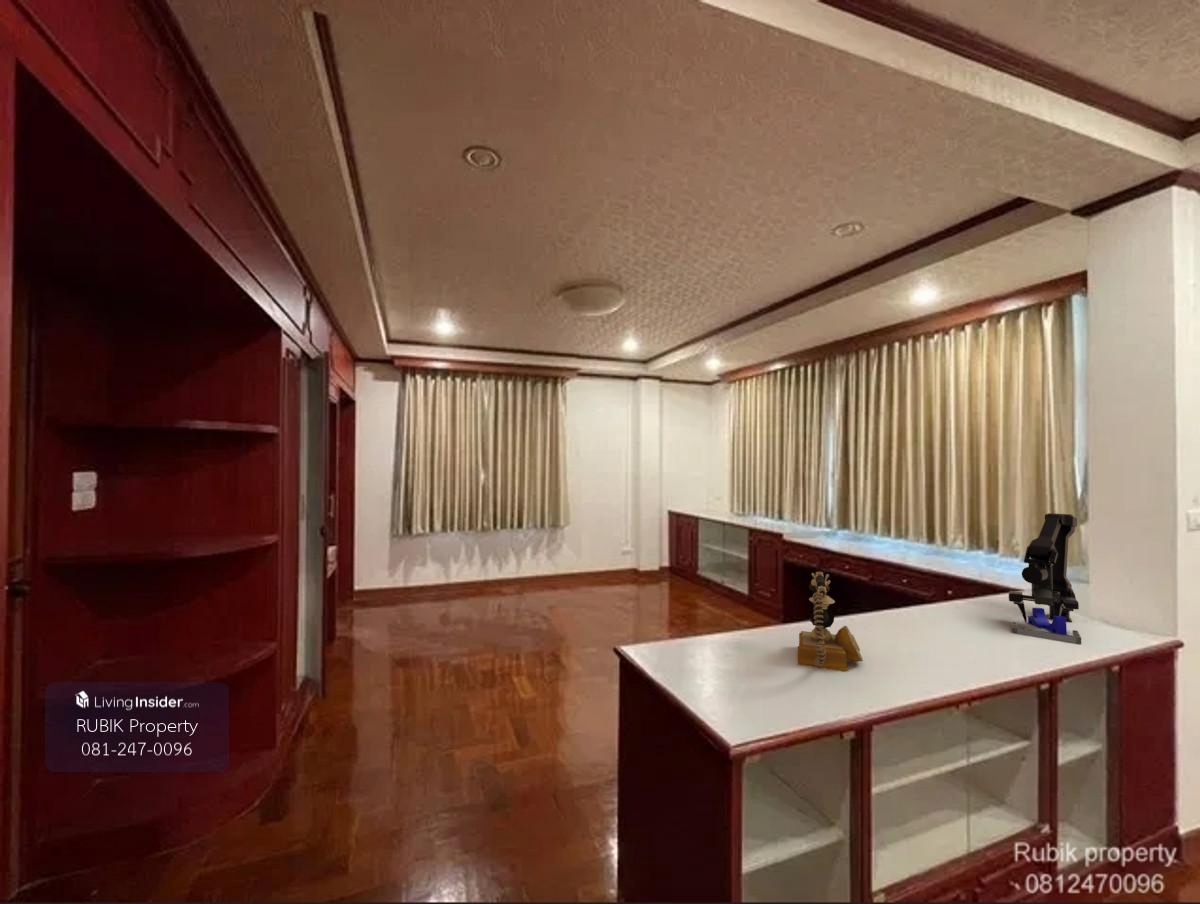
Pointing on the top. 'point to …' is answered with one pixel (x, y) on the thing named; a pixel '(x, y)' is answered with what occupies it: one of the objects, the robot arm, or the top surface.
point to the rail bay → (1048, 634)
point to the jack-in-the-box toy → (825, 634)
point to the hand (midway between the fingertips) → (1042, 624)
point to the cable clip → (1042, 622)
